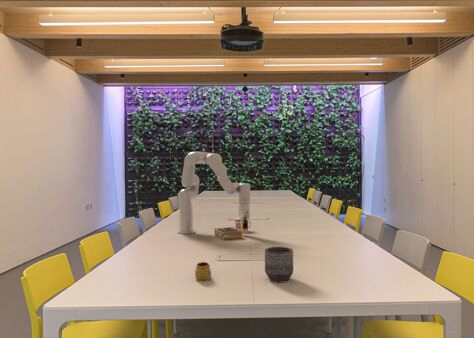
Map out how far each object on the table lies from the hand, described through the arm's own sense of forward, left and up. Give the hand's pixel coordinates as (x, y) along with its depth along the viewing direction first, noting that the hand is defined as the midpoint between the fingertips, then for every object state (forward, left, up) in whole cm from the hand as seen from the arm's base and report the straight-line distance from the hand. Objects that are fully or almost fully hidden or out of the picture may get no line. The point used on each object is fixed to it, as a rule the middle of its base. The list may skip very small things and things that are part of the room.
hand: (244, 227), depth 269 cm
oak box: (-1, -11, -5) cm, 13 cm away
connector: (0, 0, -3) cm, 3 cm away
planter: (+98, -22, -6) cm, 101 cm away
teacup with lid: (-17, +6, -6) cm, 18 cm away
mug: (+82, -51, -6) cm, 97 cm away
